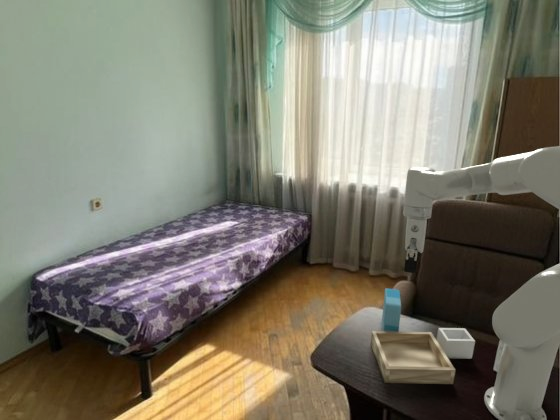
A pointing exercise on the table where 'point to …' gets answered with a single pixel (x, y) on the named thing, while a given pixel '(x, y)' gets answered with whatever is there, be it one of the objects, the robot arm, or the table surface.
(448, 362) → the wooden tray
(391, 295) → the data package
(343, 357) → the table surface
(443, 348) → the white open box
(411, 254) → the robot arm
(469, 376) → the table surface
